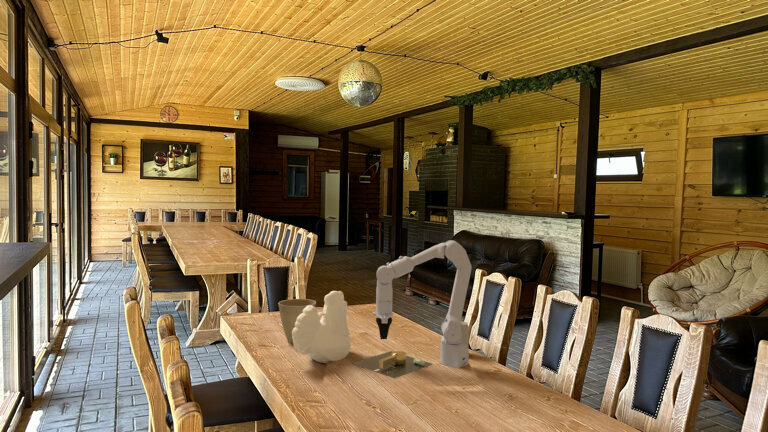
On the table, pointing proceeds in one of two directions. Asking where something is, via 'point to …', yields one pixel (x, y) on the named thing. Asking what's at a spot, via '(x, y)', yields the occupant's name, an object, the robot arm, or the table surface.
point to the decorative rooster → (323, 330)
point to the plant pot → (292, 314)
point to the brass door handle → (393, 359)
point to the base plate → (393, 369)
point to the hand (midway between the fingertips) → (383, 338)
